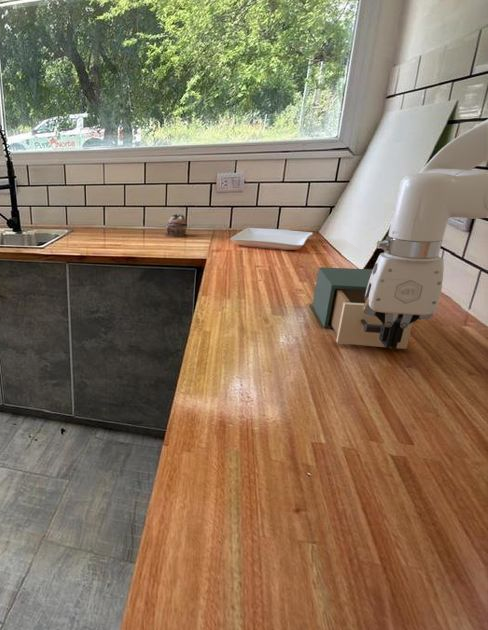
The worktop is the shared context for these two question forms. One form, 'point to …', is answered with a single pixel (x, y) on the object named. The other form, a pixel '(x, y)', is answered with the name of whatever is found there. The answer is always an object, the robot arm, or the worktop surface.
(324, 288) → the cabinet
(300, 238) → the square plate
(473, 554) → the worktop surface
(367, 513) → the worktop surface
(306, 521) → the worktop surface
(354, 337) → the drawer
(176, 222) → the cupcake
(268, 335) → the worktop surface
